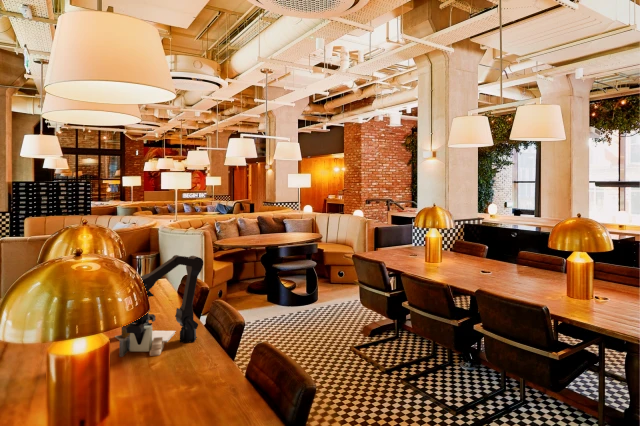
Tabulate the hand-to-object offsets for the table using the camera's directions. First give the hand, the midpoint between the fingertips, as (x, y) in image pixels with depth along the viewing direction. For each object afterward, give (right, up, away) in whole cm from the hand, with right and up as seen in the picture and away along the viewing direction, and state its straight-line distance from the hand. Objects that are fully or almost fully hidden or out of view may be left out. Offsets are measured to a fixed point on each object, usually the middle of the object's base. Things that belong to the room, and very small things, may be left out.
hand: (141, 342), depth 182 cm
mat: (0, -3, +17) cm, 17 cm away
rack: (-6, -3, 0) cm, 6 cm away
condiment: (-14, -3, +16) cm, 22 cm away
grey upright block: (0, -3, 0) cm, 3 cm away
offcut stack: (+7, -4, 0) cm, 8 cm away
